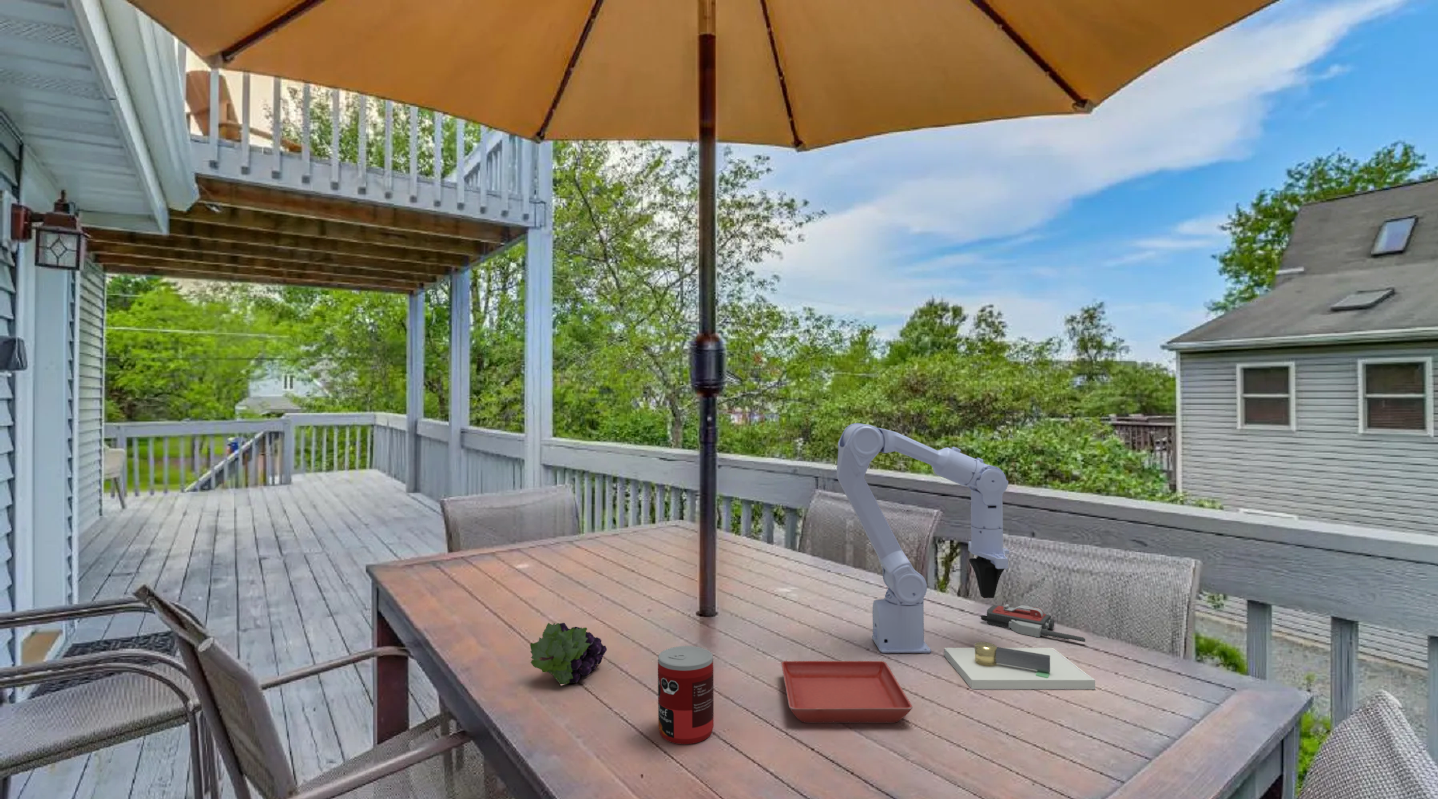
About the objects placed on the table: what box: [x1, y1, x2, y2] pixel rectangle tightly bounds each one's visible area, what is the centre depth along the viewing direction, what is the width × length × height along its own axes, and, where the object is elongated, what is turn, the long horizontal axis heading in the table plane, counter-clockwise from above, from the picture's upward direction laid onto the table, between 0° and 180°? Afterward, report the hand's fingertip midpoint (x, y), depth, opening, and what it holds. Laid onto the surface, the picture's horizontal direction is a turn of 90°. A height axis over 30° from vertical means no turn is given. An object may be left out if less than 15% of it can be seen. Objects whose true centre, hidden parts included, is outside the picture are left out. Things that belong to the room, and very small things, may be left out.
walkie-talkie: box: [980, 603, 1086, 643], centre depth 134 cm, size 9×4×20 cm
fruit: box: [529, 622, 608, 686], centre depth 113 cm, size 10×10×15 cm
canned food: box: [657, 645, 715, 745], centre depth 94 cm, size 8×8×11 cm
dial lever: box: [974, 641, 1050, 672], centre depth 112 cm, size 12×4×3 cm, turn 61°
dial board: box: [943, 647, 1096, 690], centre depth 114 cm, size 20×14×2 cm
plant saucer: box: [780, 660, 913, 724], centre depth 103 cm, size 18×18×3 cm
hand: (987, 597), depth 126 cm, fingers closed
